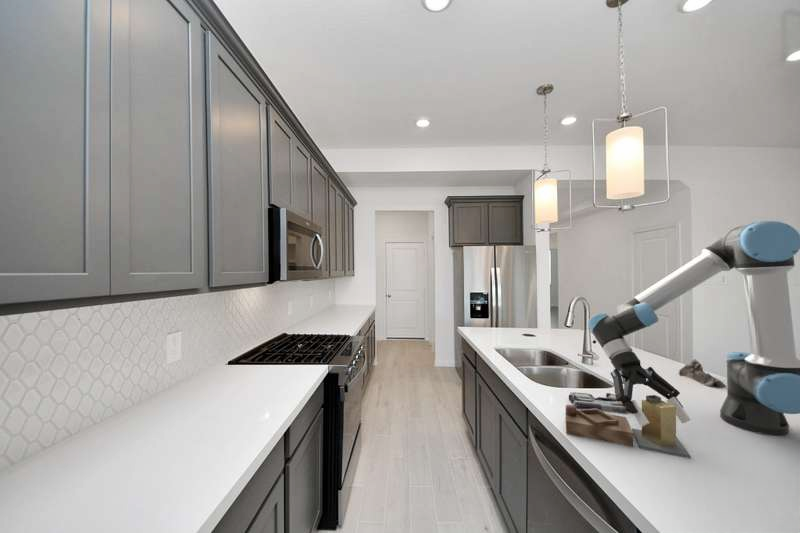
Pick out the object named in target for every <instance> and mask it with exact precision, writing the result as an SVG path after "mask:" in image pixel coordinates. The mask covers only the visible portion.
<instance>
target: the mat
mask: <svg viewBox="0 0 800 533" xmlns="http://www.w3.org/2000/svg"><path fill="white" fill-rule="evenodd" d="M631 429H632V431H633V438H634V439H635V441H636V443H637V445H638V448H639V449H641V450H646V451H650V452H651V451H652V452H656V453H662V454H665V455H670V456H675V457H682V458H687V459H691V455H690V453H689V452H688V451H687V449H686V447H684V445H683V443H682V442H681V440H680V439H679V438H678V436H677V435H676V446H667V447H660V446H658V445H657V444H655V443H653V442H651V441H650V440H648V439H646V438H644V437H643V436H642V429H640V428H632V427H631Z"/></svg>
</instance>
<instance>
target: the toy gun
mask: <svg viewBox="0 0 800 533" xmlns="http://www.w3.org/2000/svg"><path fill="white" fill-rule="evenodd" d="M568 400H570V401H571V403H572V405H574V406H576V409H594V408H597V409H599V410H601V411H603V412H618V413H625V414H627V413H631V412H630V410H629V409H628V407H627V405H626V404H625V405H624V404H622V403H621V401H620V402H618V401H617V400H616V396H615V393H614V394H613V393H610V392H607V393H606V394H605V397H604V396H603V397H601V396H597V397H594V395H592V394H589V393H586V392H572V391H570V392H569V395H568ZM631 414H632V413H631Z"/></svg>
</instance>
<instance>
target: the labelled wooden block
mask: <svg viewBox="0 0 800 533" xmlns="http://www.w3.org/2000/svg"><path fill="white" fill-rule="evenodd" d="M641 410H642V412H643V413H644V415H645V417H646V418H647V420H648V421H649V424H647V425H645V426H644V427H641V430H642V436H643V437H644V438H646V439H648V440H650V441H651V442H653V443H655V444H657V445H658V446H660V447H667V446H676V436H677V415H676V406H673V405H671V404H668V402H667V401H663V400H662V397H660V396H657V395H655V394H653V395H652V394H651V395H650V394H649V395H646V396H645V398H643V399H642V398H641Z"/></svg>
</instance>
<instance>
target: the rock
mask: <svg viewBox="0 0 800 533" xmlns="http://www.w3.org/2000/svg"><path fill="white" fill-rule="evenodd" d="M677 374H678V375H679V376H682V377H686V378H688V379H691V380H693V381H695V382H697V383H699V384H701V385H703V386H707V387H711V388H717V389H719V388H725V387H726V386H727V385H726V384H725V383H724V382H723V381H722V380H720V379H719V378H716V377H715V376H713V375H711V374H710V373H708V372H707V373H706V372H705V371H704V370H703V365H702V364H701V363H700V361H698V360H697V359H695V358H694V359H692V360H690V362H689V363H687V364H685V365H684V366H683V367H682V368H680V369H679V370H678V373H677Z"/></svg>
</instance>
